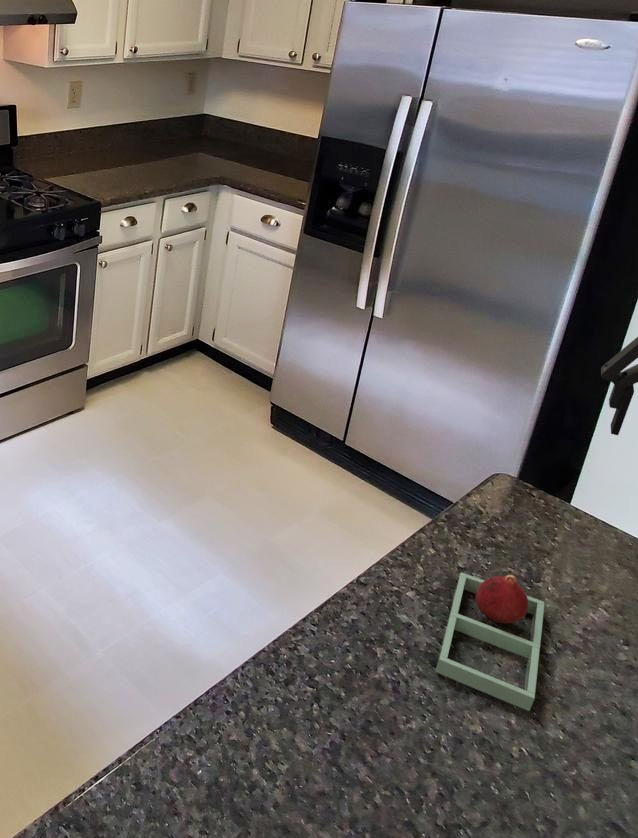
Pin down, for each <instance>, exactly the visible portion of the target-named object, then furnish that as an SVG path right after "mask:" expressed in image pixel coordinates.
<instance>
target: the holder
mask: <svg viewBox="0 0 638 838" xmlns="http://www.w3.org/2000/svg"><path fill="white" fill-rule="evenodd" d="M483 581H485V580H484V579H482V578H478V577H477V576H473V575H470V574H467V573H466V572H465V573H464V572H459V576H458V580H457V582H456V586H455V590H454V595H453V598H452V602H451V607H450V610H449V615H448V619H447V623H446V627H445V631H444V634H443V639H442V642H441V647H440V651H439V655H438V659H437V663H436V667H435V673H437V674H440V675H441V676H444V677H447V678H448V679H451V680H453V681H456V682H458V683H460V684H463V685H465V686H468V687H469V688H473V689H475V690H477V691H479V692H482V693H485V694H487V695H489V696H492V697H494V698H496V699H498V700H501V701H504V702H506V703H509V704H510V705H513V706H515V707H518V708H520V709H522V710H525V711H527V712H530V711H531V709H532V706H533V704H534V702H535V699H536V691H537V681H538V672H539V671H538V670H539V662H540V651H541V644H542V643H541V642H542V633H543V625H544V624H543V623H544V613H545V612H544V611H545V601H544V600H540V599H537V598H534V597H533V596H529V595H527V594H526V596H527V598H528V609H527V613H526V614H530V615H532V618H531V628H530V636H529V640H528V639H526V638H523V637H521V636H518V635H515V634H513V633H510V632H508V631H505V630H502V629H499V628H497V627H494V626H491V625H489V624H486V623H484V622H481V621H478V620H475V619H474V618H470V617H468V616H466V615H463V614H460V613H459V611H460V607H461V602H462V599H463V598H462V597H463V593H464V591H466V592H470V593H473V594H474V595H476V592H477V590H478V588H479V586H480V584H481V583H482V582H483ZM455 631H457V632H458V633H461V634H465V635H467V636H469V637H471V638H475V639H477V640H479V641H482V642H485V643H488V644H490V645H493V646H495V647H498V648H500V649H503V650H505V651H508V652H510V653H513V654H516V655H518V656H521V657H523V658H525V659H527V660H526V669H525V678H524V686H523V688H521V687H518V686H516V685H513V684H511V683H508V682H506V681H504V680H501V679H499V678H497V677H494V676H491V675H489V674H486V673H485V672H482V671H479V670H477V669H474V668H473V667H470V666H468V665H464V664H463V663H459V662H457V661H455V660H452V659H450V658H448V657H449V653H450V649H451V645H452V641H453V636H454V632H455Z"/></svg>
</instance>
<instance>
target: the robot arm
mask: <svg viewBox="0 0 638 838" xmlns="http://www.w3.org/2000/svg"><path fill="white" fill-rule="evenodd" d="M637 359H638V336H637V337H636V338H635V339H633V340H632V341H631V342H630V343H628V344H627V345H626V346H625V347H623V348H622V349H621V350H620V351H618V352H617V353H616V354H615V355H614V356H613V357H611V359H609V360H608V361H607V362H605V363H604V364H603V365H602V366H601V368H600V375H601V376H600V377H601V379H602V380H604V381H609V382H611V383H612V384H613V387H612V390H611V392H610V395H609V398H608V405H609V408H611V409H615V411H614V413H613V417H612V420H611V422H610V434H611V435H615V436H619V434H620V432H621V430H622V426H623V423H624V421H625V418H626V415H627V412H628V410H629V407H630V404H631V401H632V400H633V399H632V398H633V396H634V393H635V387H634V385H635V384H637V383H638V363H637V364H634V365H632V366H630V365H631V364H632V363H633V362H635V361H636V360H637ZM628 366H630V367H629V368H627V367H628Z"/></svg>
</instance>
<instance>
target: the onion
mask: <svg viewBox="0 0 638 838" xmlns="http://www.w3.org/2000/svg"><path fill="white" fill-rule="evenodd" d="M517 581H518V579H517V577H516V576H515V575H513V574H507V575H505V576H504V575H498V576H497V575H496V576H493V577H489V578H487V579H485V580H484V581H483V582H482V583H481V584H480V586H479V588H478V590H477V592H476V594H475V602H476V605H477V607H478V610H479V611H480V612H481V613H482V614H483V615H484V616H485V617H486V618H487V619H488V620H490V621H492V623H494V624H503V625H505V624H507V625H508V624H514V623H517V622H519V621H521V620H522V619H524V618H525V617H526V615H527V614H528V613H527V609H528V598H527V596H528V595H527V593H526V591H525V590H524V588H523V587H522V586H521V585H520V584H519V583H518V582H517ZM526 595H527V596H526Z"/></svg>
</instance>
